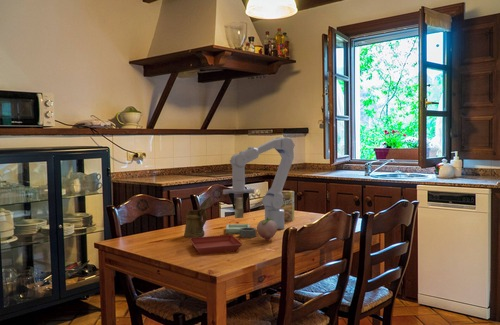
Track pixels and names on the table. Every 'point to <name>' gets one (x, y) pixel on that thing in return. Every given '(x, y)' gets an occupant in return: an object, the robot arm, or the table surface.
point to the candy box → (288, 205)
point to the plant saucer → (216, 244)
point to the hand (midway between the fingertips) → (239, 209)
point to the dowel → (238, 207)
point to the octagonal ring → (247, 232)
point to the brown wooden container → (196, 221)
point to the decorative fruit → (267, 228)
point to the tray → (235, 228)
